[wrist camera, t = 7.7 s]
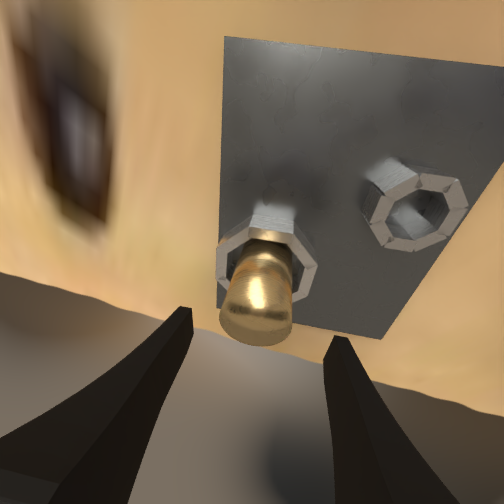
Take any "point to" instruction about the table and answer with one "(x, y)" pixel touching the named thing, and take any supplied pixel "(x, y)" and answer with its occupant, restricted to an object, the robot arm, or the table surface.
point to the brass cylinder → (260, 294)
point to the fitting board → (351, 170)
